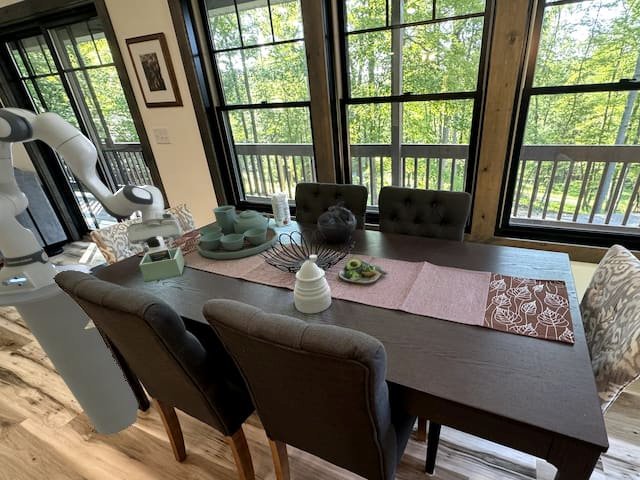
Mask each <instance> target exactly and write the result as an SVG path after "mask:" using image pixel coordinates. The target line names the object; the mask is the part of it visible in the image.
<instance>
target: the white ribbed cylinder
mask: <svg viewBox="0 0 640 480" xmlns="http://www.w3.org/2000/svg"><path fill="white" fill-rule="evenodd" d="M270 200H271V201H270V202H271V206H272V212H273V218H274V222H275V224H276V226H277V227H279V228H283V227H286V226H290V225H291V222H292V221H291V219H292V218H291V213H290V205H289V199H288V196H287V194H286V193H285V192H284V191H279V192H273V193H270Z"/></svg>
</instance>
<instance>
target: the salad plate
mask: <svg viewBox="0 0 640 480" xmlns="http://www.w3.org/2000/svg"><path fill="white" fill-rule="evenodd" d="M388 274H389V273H388V272H387V271H385V270H383V267H382V266H381V265H379V264H375V263H368V262H365V261H364V260H362V259H360V258H357V257H356V258H354V257H353V258H350V259H349V260H347V261H346V263H345V266H344V268H342V269H341V270H340V271H339V272H338V277H339V279H340V280H342V281H344V282H345V283H346V282H347V283H352V284H358V285H359V284H362V285H363V284H364V285H369V284H372V283H376V282H378V280H379V278H380V277H381V276H386V275H388Z"/></svg>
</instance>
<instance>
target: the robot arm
mask: <svg viewBox="0 0 640 480" xmlns="http://www.w3.org/2000/svg"><path fill="white" fill-rule="evenodd" d="M37 140H40V141H42V142H44V143H45V144H46V145H48V146H49V147H50V148H51V149H52V150H53V151H55V152H56V153H57V154H58V155H59V156H60V157H61V158H62V159H63V160H64V161H65V163H66V165H68V167H69V169H70V172H71V173H72V175H73V176H74V177H75V179H76V180H77V181H78V182H79V183H80V184H81V185H82V186H83V187H84V188H85V189H86V191H88V193H90V194H91V195H92V197H94V198H95V199H96V200H97V202H98V203H99V204H100V205H101V206H102V208H103V210H104V211H105V212H106V213H107V214H108V215H109V216H110V217H112V218H114V219H117V220H122V221H123V220H128V219H129V218H130V217H132V215H134V213H136V212H137V211H138V212H140V213H141V221H140V222H136V223H135V222H133V223H130V224H129V225H128V226H127V229H126V230H127V241H128V242H129V243H131V244H132V245H140V247H142V252H144V253H147V252H148V248H149V247H148V245H147V246H146V244H147V242H146V240H147V239H148V238H150V237H154V236H160V237H162V238H163V241H167V240H169V241H168V242H166V243H165V244H167V248H168V249H173V246H172V245H173V243H174V241H175V239H180V238H183V236H184V233H183V230H182V227H181V224H180V223H179V220H178V218H177V216H175V215H174V213H167V212H165V201H164V197H163V193H162V192H161V190H160V189H159V188H158V187H156V186H153V185H149V184H147V185H146V184H145V185H143V186H138V185H135V184H126V185H124V186H123V187H122V188H120V189H119V190H118V191H117V192H115V193H113V192H112V191H111V190H110V189H109V188H108V187H107V186H106V185H105V184H104V182H102V181H101V179H100V178H99V177H98V176H97V173H96V164H97V161H98V151H97V148H96V147H95V145H94V144H93V143H92V142H91V141H90V140H89V139H88V138H87V137H86V136H85V135H84V134H83V133H82V132H81V131H80V130H79V129H78V128H77V127H75V125H73V124H71V123H70V122H68V121H67V120H66V119H65V118H64V117H62V116H61V115H59V114H57V113H55V112H51V111H46V112H41V113H39V114H38V113H37V112H34V111H33V110H30V109H26V108H18V107H3V108H0V252H1V254H2V255H3V257H1V258H0V264H2V263H3V267H2V268H1V269H0V296H4V295H14V294H23V293H31V292H34V291H36V290H38V289H40V288H43V287H46V286H49V285H51V284H53V283H55V281H54V279H53V278H54V277H55V275H57V274H58V273H59V272H58V271H57V270H56V269H55V267H56V266H55V265H54V264H52V262H51V261H50V258H49V256H48V254H47V253H46V251H45V249H44V248H43V247H41V244H40V243H39V241H38V239H37V237H36V236H35V234H34V232H33V231H32V230H30V229H29V228H26V227H24V226H23V225H22V224H21V223H20V222H19V221H18V220H17V218H16V217H17V216H19V215H21V214H22V213H24V211H25V210H26V209H27V208H28V206H29V199H28V197H27V195H26V194H25V193H24V192H22V191H21V189H20V187H19V185H18V182H17V180H16V176H15V169H14V162H13V153H12V145H13V144H15V143H26V142H27V143H28V142H31V141H37Z"/></svg>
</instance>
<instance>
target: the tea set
mask: <svg viewBox="0 0 640 480" xmlns="http://www.w3.org/2000/svg"><path fill="white" fill-rule="evenodd" d="M212 212H213V213H214V217H215V221H216V225H212V226H207V227H203V228H201V229H199V230H198V231H197V232H198V234H199V235H200V237H199V241H198V242H197V244H196V245H195V246H196V249H197V250H198V251H199V254H201V255H202V257H204V258H209V259H214V260H229V259H230V260H231V259H240V258H244V257H248V256H252V255H257V254H259V253H261V252H263V251H266V250H269V249H270V248H272V247H274V245H275V244H276V242H277V241H278V239H279V234H278V233H277V230H276V229H275V228H274V227H270V226H269V224H270V221H271V218H270V215H269V214H268V213H267V212H261V213H259V212H258V211H256V210H251V209H247V210H244V211H242V212H240V213H239V214H238V215H239V216H238V217H237V214H236V207H235V206H234V205H221V206H218V207H215V208H213V209H212ZM264 215H265V216H264ZM271 245H272V246H271Z"/></svg>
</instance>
